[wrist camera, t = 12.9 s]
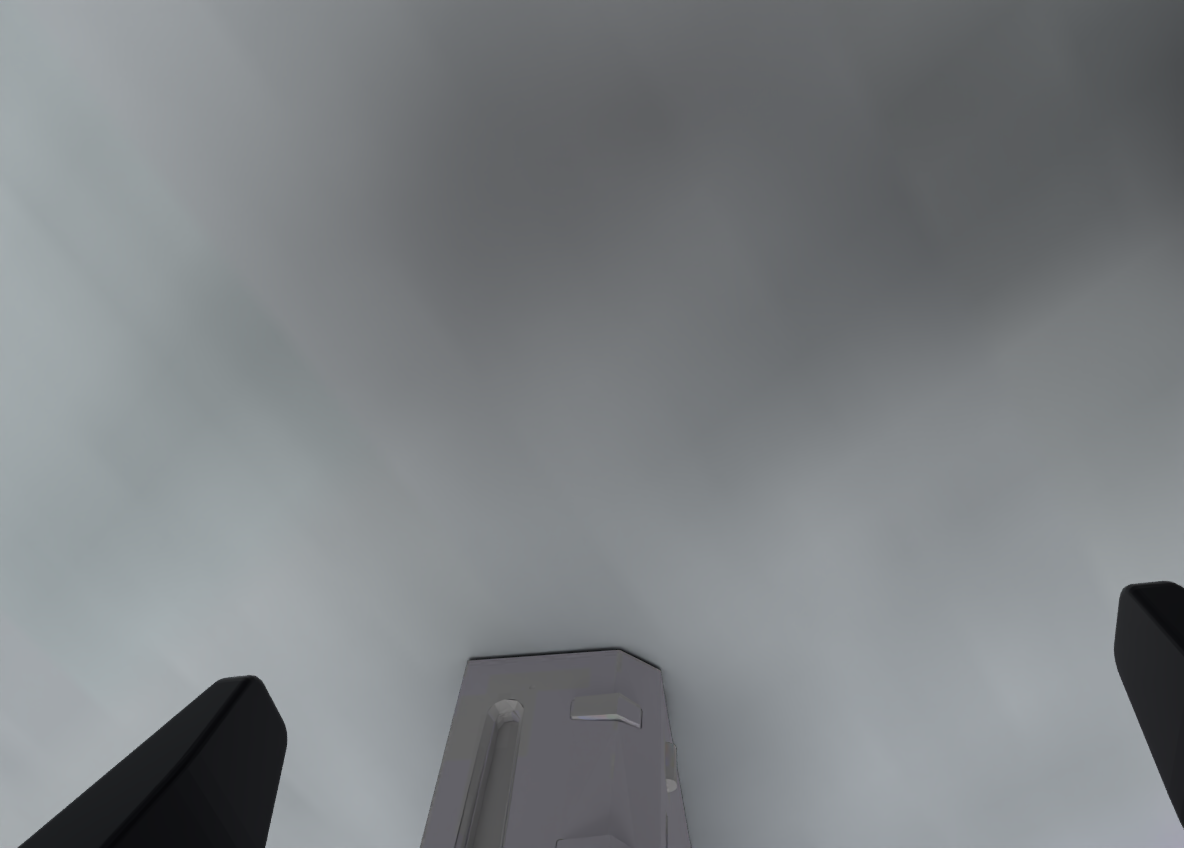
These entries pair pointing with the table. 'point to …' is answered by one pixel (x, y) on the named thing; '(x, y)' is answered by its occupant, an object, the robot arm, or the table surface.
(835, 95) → the table surface
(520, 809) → the game console
